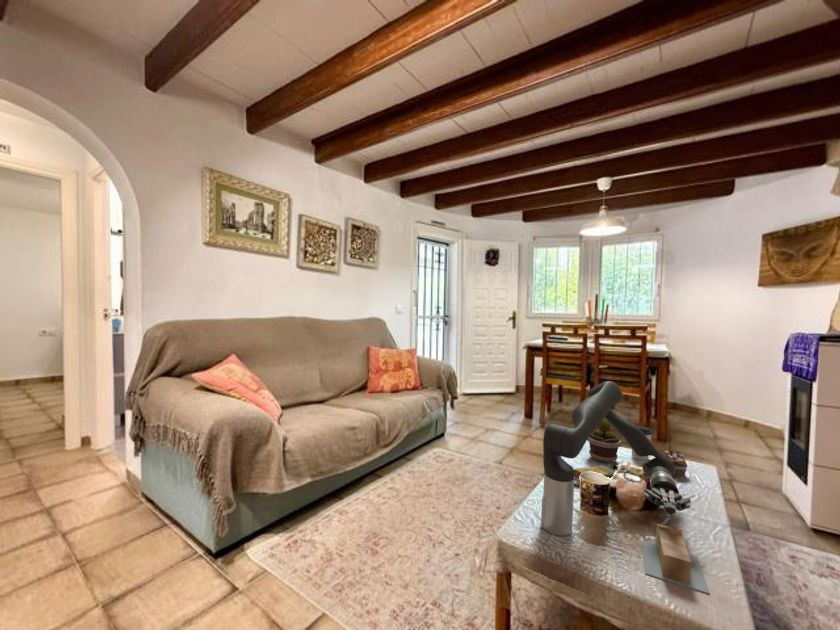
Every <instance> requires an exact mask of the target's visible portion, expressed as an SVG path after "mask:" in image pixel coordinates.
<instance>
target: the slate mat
mask: <svg viewBox="0 0 840 630" xmlns="http://www.w3.org/2000/svg"><path fill="white" fill-rule="evenodd" d="M640 542H641V551H642V556H643V557H642V558H643V566H644V567H643V568H644V574H645V575H647V576H650V577H654V578H655V579H656V578H657V579H659V580H663V581H666V582H670V583H672V584H674V585H679V586H682V587H685V588H688V589H691V590H694V591H698V592H701V593H704V594H707V595H711V594H710V593H711V592H710V589H709V587H708V584H707V580H706V579H705V575H704V572H703V570H702V566H701V564H700V561H699V557H698V555H695V554H692V553H688V554H689V557H690V561H691V572H690V585H689V584H686V583H683V582H680V581H676V580H673V579H670V578H667V577H664V576H662V571H661V566H660V560H659V555H658V549H657V544H655V543H652V542H649V541H645V540H641V541H640Z"/></svg>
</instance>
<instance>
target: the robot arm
mask: <svg viewBox="0 0 840 630" xmlns="http://www.w3.org/2000/svg"><path fill="white" fill-rule="evenodd" d="M622 391H623V390H622V389H621V387H620V386H619V385H618V384H617V383H615V382H614V381H610V380H607V381H604V382H601V383H599V384H597V385H596V386H594V387H592V388H590V389H589V390H588V393H587V394H588V397H587V398H585V399H584V400H583V401H581V402H579V404H578V405H577V406H576V407H574V409H573V410H572V413H571V421H572V425H573V426H574V428H571V427H568V426H563V425H559V424H554V423H549V424H548V425H547V426H546V427H545V429H544V432H543V439H542V440H543V441H542V442H543V443H542V445H543V446H542V448H543V452H542V453H543V454H542V455H543V461H542V462H543V469H544V471H543V489H542V490H543V493H542V495H543V496H542V498H541V513H540V528H542V529H544V530H545V531H547V532H549V533H550V534H552V535H556V536H559V537H562V536H563V537H564V536H565V537H566V536H569V535H570V534H572V532H573V526H574V525H573V524H574V523H573V519H574V518H573V517H574V501H575V500H574V496H575V495H574V493H575V478H574V477H575V471H574V469H575V468H574V467H573V466H572V465H571V464H569V463H568V462H566V460H564V459H563V458H566V459H575V458H576V457H577V456H579V454H580V453H581V452H582V450H583V448H584V446H585V445H586V443H587V442H588V441H587V439H588V438H589V436H590V435H591V434H592V432H593V431H596V430H597V429H598V428H599V427H598V426H599V424H600V423H601V422H602V420H603V419H604V418H605V419H607V421H609V422H610V425H612V427H614V428H615V429H616V430H617V432H619V433H620V435H621V436H622V437H623V438H624V439H625V441H626V442H627V444H628V445H629V446H630V448H631V450H632V449H633V450H634V452H635V453H636V454H637V455H638V456H640V457H643V456H649V457H650V456H651V457H653V458H651V459H648V460H646V461H645V462H644V463H643V464H642V465H641V466H642V467H641V468H642V472H643V473H644V475H646V477H647V478H648V477H649V478H650V479H649V478H648V479H649V483H650V484H649V485H650V489H648V488H644V492H643V493H644V494H643V497H644V498H646V499H647V500H648V501H650V502H652V503H653V504H654V505H656V506H658V507H661V506H662V508H663V510H664V511H665V512H666V514H668V515H671V516H674V515H676V513H677V511H679V512H681V511H685V510H687V509H690V508H691V506H692V505H691V502H692V499H691V498H688V497H686V498H684V497H683V496H682V494H680V492H679V489H678V487H677V484H676V480H675V479H674V478H673V477H672V474H673V473H675V466H674V464H673V462H672V461H671V460H670V459H669V458H667V457H666V456H665V455H664V453H663V452H661V451H660V450H659V449H658V448H657V447H656V446H655V445H654V444H653V443H652V441H651V442H650V440H649V439H648V438H647V437H646V435H645V434H644V433H643V431H642V430H641V429H640V428H638V427H637V426H636V425H637V424H634V423H633V422H630V421H628V420H626V419H625V418H624V417H621V416H620V415H619V414H617V413H616V412H615V411H614V410H613V408H614V406H615V407H616V405H617V404H619V403H620V402H621V401H622V399H623V392H622Z"/></svg>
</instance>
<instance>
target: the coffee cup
mask: <svg viewBox="0 0 840 630" xmlns="http://www.w3.org/2000/svg"><path fill="white" fill-rule="evenodd" d="M635 425H636V426H637V427H638V428H640V429H641V430H642V431H643V433H644V434H645V435H646V437H647V438H648V439H649V440H650V442H651V443H652V436H653V431H652V430H651V428H649V427H647V426H645V425H641V424H640V425H639V424H638V425H637V424H635ZM631 457H633V458H635V459H636V460H642V461H649V457H650V456H643V457H640V456H638V455H637V454H636V453H635V452H634V450H633V449H632V448H631Z"/></svg>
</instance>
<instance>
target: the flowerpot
mask: <svg viewBox="0 0 840 630" xmlns="http://www.w3.org/2000/svg"><path fill="white" fill-rule="evenodd" d="M597 428H598V429H595V430H594V431H593V432H592V434H591V435H590V436H589V438H588V439H587V441H586V442H588V443H589V444H588V446H589V449H588V450H589V451H588V453H589V455H590V457H591V458H592V460H593V461H596V462H598V463H601V464H602V463H604V464H608V463H609V464H614V463H615V461H617V459H618V454H617V453H618V450H619V448H620V447H621V446H622V444H623V443H622V440H621V439H620V437H619V436H618V435H616V434H615V433H614V432H612V431H611V430H612V426H611V423H610V422H609V421H608V420H607V419H606V418H604V419H603V420H602V422H601V423H600V424H599V425H598V427H597Z"/></svg>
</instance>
